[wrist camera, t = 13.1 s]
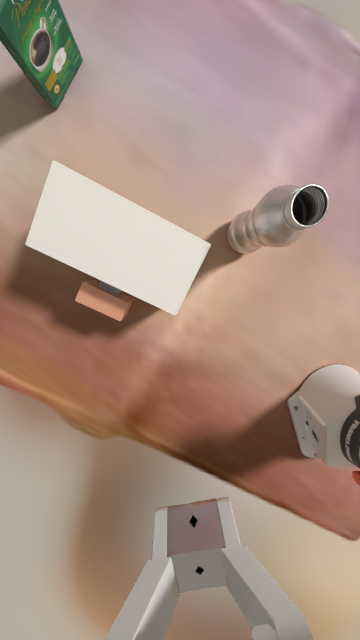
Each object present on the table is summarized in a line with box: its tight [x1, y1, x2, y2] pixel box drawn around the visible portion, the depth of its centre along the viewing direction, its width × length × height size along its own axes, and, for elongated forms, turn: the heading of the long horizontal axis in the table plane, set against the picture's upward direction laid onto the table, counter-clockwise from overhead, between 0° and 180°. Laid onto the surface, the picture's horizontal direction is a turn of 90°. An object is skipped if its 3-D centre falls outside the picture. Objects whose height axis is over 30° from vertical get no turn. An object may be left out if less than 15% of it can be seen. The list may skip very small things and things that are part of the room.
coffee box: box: [0, 0, 83, 108], centre depth 28 cm, size 8×3×13 cm, turn 144°
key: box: [75, 280, 134, 321], centre depth 34 cm, size 10×7×5 cm
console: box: [25, 160, 211, 316], centre depth 34 cm, size 10×20×13 cm, turn 64°
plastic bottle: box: [227, 184, 329, 254], centre depth 30 cm, size 6×7×20 cm
